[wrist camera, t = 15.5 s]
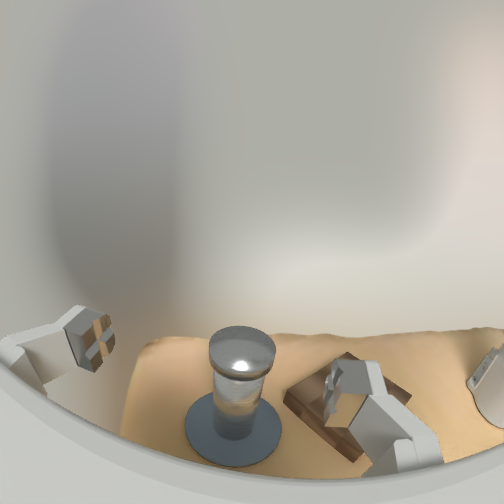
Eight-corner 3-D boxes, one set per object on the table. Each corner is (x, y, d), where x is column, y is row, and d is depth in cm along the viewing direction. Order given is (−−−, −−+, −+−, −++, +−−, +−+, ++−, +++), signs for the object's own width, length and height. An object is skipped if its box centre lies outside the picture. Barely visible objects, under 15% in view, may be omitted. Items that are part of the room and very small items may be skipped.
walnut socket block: (342, 364, 42) (347, 351, 41) (403, 407, 32) (412, 395, 31) (283, 402, 34) (287, 389, 33) (353, 463, 24) (362, 453, 23)
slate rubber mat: (244, 381, 37) (244, 378, 37) (299, 436, 28) (300, 434, 28) (169, 411, 30) (168, 408, 30) (218, 482, 21) (218, 481, 21)
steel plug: (239, 400, 33) (249, 319, 27) (266, 430, 28) (289, 353, 23) (199, 417, 29) (197, 336, 24) (226, 451, 25) (233, 380, 20)
